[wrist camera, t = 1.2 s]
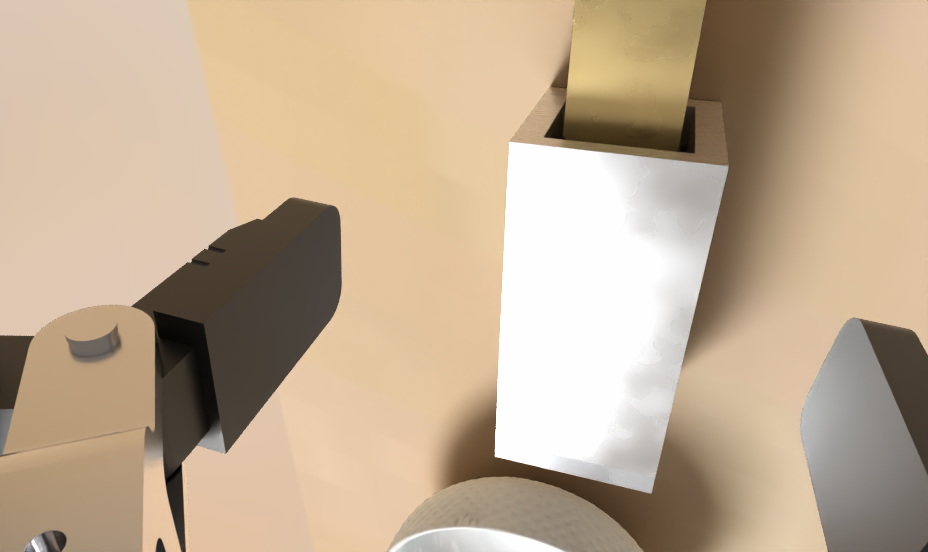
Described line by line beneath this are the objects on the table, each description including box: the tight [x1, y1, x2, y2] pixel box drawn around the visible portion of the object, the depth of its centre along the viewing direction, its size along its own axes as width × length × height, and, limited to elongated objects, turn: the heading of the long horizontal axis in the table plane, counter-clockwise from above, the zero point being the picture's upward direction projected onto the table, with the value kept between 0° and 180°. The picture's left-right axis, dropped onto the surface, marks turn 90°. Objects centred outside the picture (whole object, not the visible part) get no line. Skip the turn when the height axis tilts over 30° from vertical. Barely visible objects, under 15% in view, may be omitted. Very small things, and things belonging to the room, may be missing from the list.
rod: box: [563, 0, 707, 152], centre depth 24 cm, size 4×24×4 cm, turn 179°
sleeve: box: [495, 87, 729, 494], centre depth 28 cm, size 7×15×7 cm, turn 179°
